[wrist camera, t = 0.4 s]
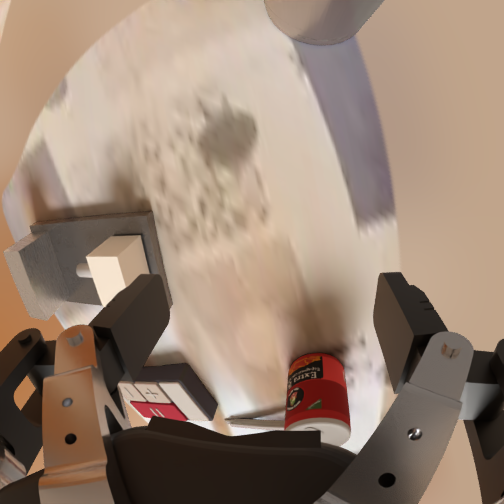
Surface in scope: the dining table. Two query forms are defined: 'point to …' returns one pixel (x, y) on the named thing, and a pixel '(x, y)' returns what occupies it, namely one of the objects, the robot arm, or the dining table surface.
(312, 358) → the canned food
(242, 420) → the caliper
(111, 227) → the gauge base
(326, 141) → the dining table surface
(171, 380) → the calculator
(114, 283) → the block
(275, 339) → the dining table surface
